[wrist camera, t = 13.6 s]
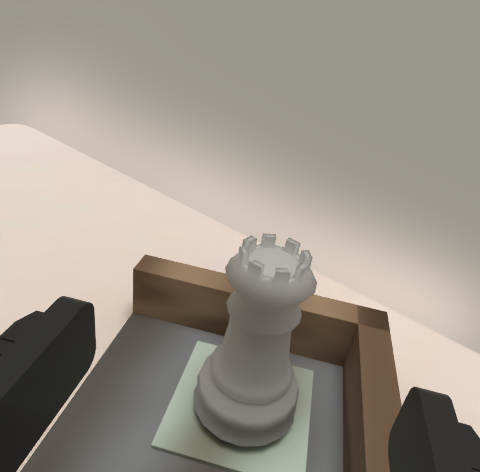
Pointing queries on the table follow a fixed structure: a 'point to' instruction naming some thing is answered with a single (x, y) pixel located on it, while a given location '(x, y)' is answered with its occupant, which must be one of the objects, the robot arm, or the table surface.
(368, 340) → the corner arena
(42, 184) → the table surface
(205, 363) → the rook chess piece
